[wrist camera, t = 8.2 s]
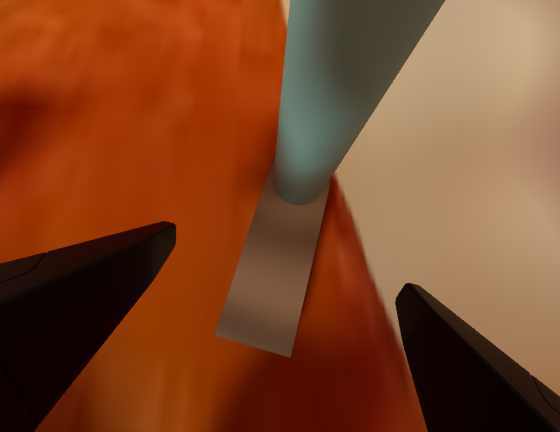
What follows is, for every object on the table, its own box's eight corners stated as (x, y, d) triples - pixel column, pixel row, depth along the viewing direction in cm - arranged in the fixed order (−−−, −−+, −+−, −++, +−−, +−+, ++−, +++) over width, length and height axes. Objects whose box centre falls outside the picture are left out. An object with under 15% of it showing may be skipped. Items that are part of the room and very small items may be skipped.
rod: (301, 215, 17) (411, 25, 4) (262, 182, 17) (261, -70, 5) (332, 180, 18) (492, -54, 5) (294, 150, 18) (360, -126, 6)
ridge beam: (285, 345, 17) (290, 357, 14) (222, 326, 17) (214, 335, 14) (324, 183, 21) (334, 168, 18) (273, 169, 21) (275, 151, 18)
